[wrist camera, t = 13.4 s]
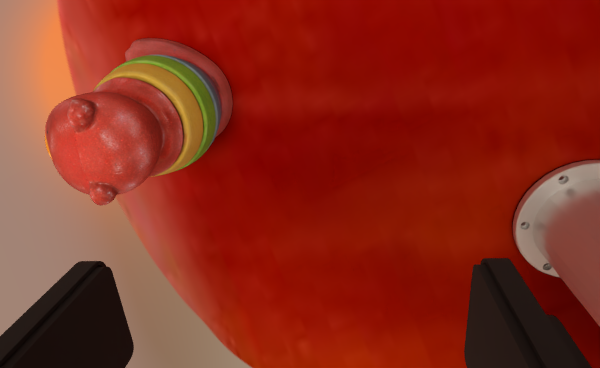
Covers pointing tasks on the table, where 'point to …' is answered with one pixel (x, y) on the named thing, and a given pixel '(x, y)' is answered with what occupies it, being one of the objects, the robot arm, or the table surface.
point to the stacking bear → (139, 120)
